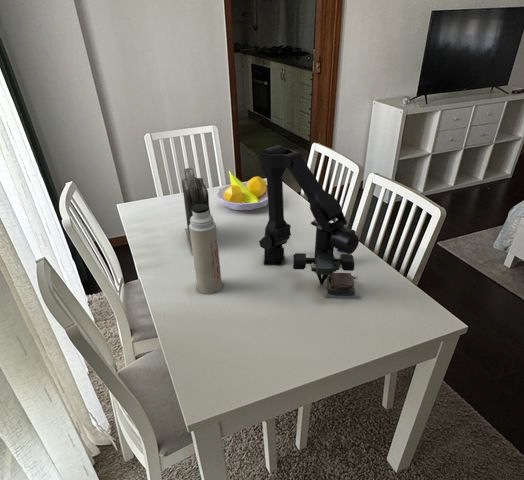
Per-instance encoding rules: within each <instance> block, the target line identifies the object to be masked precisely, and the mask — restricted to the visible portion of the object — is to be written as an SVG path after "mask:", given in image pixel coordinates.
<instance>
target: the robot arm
mask: <svg viewBox="0 0 524 480" xmlns="http://www.w3.org/2000/svg"><path fill="white" fill-rule="evenodd" d="M259 163H260V169H261V171H262V173H263V174H264V175H265V178H266V185H267V192H268V204H267V205H268V206H267V209H268V221H267V222H266V226H265V228H264V236H263V237H262V238H261V239H259V241H258V242H259V247H260V248H261V249H263V251H264V253H263V254H264V255H263V258H264V261H263V265H267V266H268V265H274V266H282V265H283V261H284V260H285V247H283V245H286V244H287V243H288V241H289V239H290V237H291V236H292V232H291V227H292V226H291V224H290V223H287V221H286V220H285V213H284V187H283V186H284V184H283V176H284V174H285V171H286V169H288V170H289V172H290V174H291V176H292V177H293V178H294V179H295V181H296V182H297V184H298V185H299V187H300V188H301V190H302V191H303V193H304V195H305V197H306V198H307V199H308V201H309V210H310V212H311V215H312V216H313V218H314V220H312V221H311V222H310V225H312V226H313V227H315V228H316V229H315V241H314V242H315V243H314V256H313V257H307V253H303V252H302V253H300V252H295V253H294V254H293V259H292V269H294V270H301V271H302V270H305V269H306V267H307V265H310V270H311V272H315V274H316V276H317V279H318V283H319V285H320V286H323V285H324V283H325V282H326V278H327V276H328V275H331V274H332V272H335V273H337V271H340V267H341V269H342V270H343V271H344V272H347V271H348V272H352V271H354V270H355V264H356V263H355V258H354V255H353V253H354V252H355V251H356V250H357V248H358V246H359V244H360V239H359V236H358V235H357V234H356V230H354V229H352V228H348V227H345V226H346V225H348V222H347V219H346V216H345V214H344V211H343V210H342V207H341V204H340V202H339V201H338V200H337V198H335V196H334V195H333V194H332V193H329V192H328V191H326V190H325V189H324V188H323V187H322V185H321V184H320V182H319V181H318V180H317V178H316V177H315V175H314V173H313V172H312V170H311V169H310V168H309V166H308V164H307V163H306V161H305V160H304V157H303V154H302V152H300V151H295V150H293V149H291V148H286V147H284V146H283V145H279V144H278V145H275V146H271V147H267V148H264V149H262V150H261V152H260V153H259ZM336 219H337V220H336ZM335 220H336V221H335ZM332 221H333V222H332ZM334 248H336V249H339V250H341V251H343V252H345V253H347V254H341V255H340V259H338V258H335V257H334Z"/></svg>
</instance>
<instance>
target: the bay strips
mask: <svg viewBox="0 0 524 480" xmlns="http://www.w3.org/2000/svg"><path fill="white" fill-rule="evenodd" d="M354 279H356V276H353V280H354ZM326 298H328V299H329V298H330V299H331V298H332V299H360V297H359V296H356V295H355V296H354V295H326Z"/></svg>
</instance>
